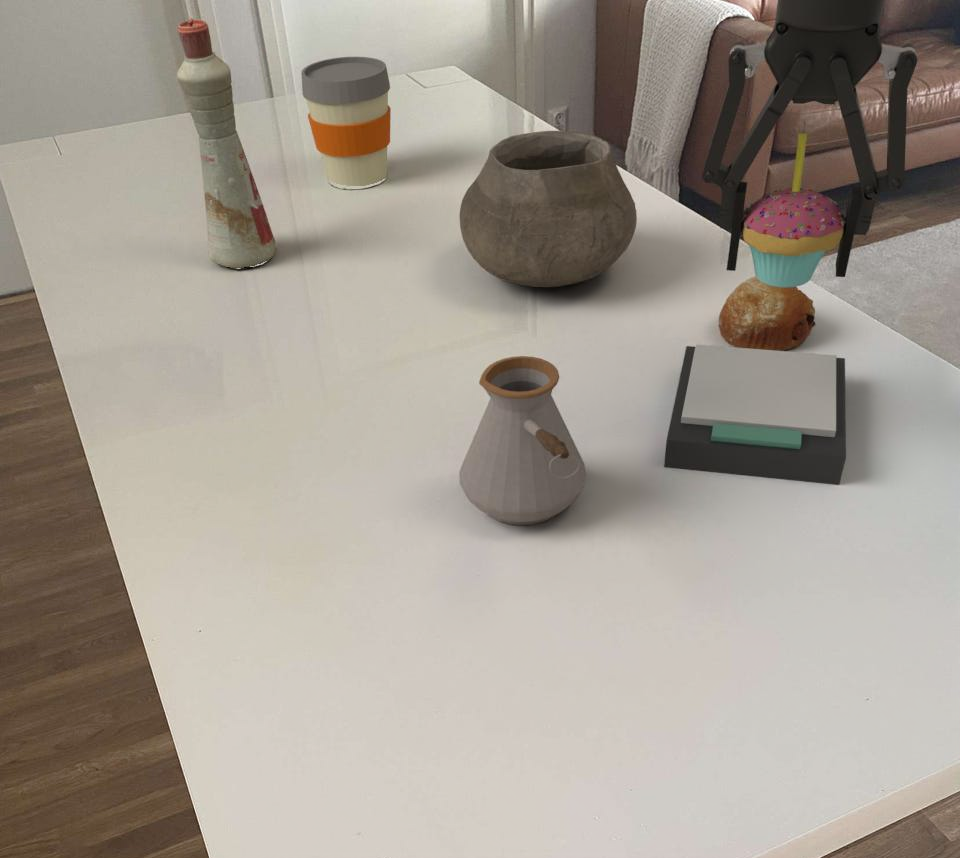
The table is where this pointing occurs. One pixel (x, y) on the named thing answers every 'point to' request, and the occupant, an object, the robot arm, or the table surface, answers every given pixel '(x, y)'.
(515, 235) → the clay pot
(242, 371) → the table surface
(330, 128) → the reusable coffee cup
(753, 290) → the bread roll
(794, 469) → the scale
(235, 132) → the bottle
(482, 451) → the coffee pot
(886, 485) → the table surface
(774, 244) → the cupcake
